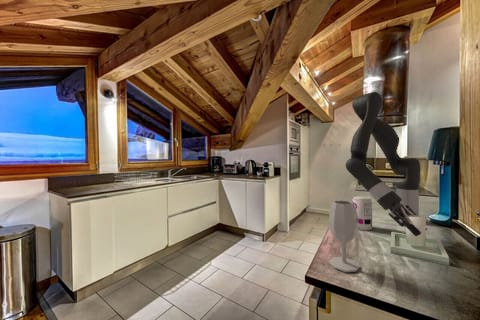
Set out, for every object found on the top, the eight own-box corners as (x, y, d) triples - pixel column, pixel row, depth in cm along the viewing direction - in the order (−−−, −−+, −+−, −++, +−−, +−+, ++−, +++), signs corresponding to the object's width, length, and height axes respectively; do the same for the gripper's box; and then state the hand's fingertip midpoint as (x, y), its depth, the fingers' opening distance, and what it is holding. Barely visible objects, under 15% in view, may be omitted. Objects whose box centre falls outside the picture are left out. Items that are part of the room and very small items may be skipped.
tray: (391, 237, 87) (391, 231, 87) (439, 246, 78) (439, 239, 78) (390, 253, 74) (390, 246, 74) (449, 265, 65) (449, 258, 65)
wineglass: (346, 276, 61) (345, 206, 60) (323, 262, 69) (322, 200, 68) (365, 269, 64) (364, 203, 64) (342, 256, 72) (341, 198, 72)
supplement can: (354, 229, 97) (353, 198, 97) (351, 224, 105) (351, 195, 104) (374, 231, 94) (373, 199, 94) (370, 226, 102) (369, 196, 101)
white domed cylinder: (405, 238, 80) (405, 213, 80) (425, 242, 76) (424, 216, 76) (406, 244, 75) (406, 217, 75) (426, 247, 72) (426, 220, 72)
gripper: (383, 192, 78) (424, 232, 68) (399, 188, 86) (437, 223, 76) (368, 203, 83) (405, 242, 73) (385, 198, 90) (419, 233, 80)
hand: (421, 232), depth 74 cm, fingers closed on white domed cylinder, 5 cm apart
